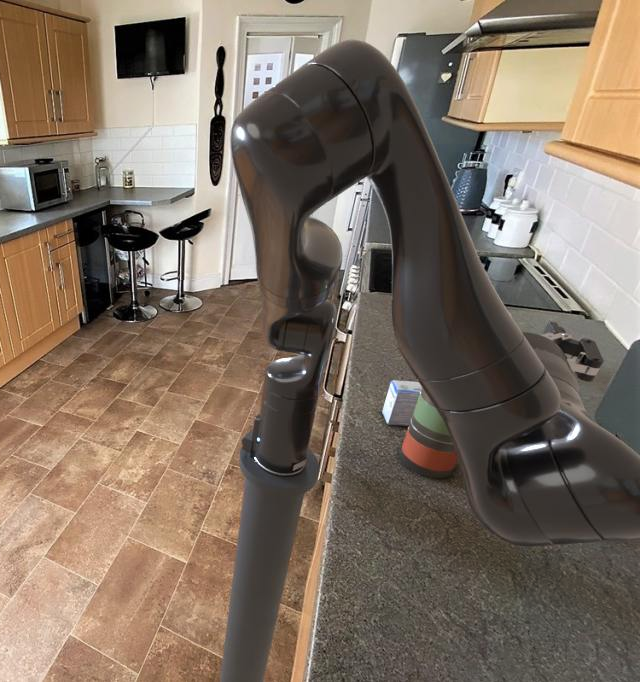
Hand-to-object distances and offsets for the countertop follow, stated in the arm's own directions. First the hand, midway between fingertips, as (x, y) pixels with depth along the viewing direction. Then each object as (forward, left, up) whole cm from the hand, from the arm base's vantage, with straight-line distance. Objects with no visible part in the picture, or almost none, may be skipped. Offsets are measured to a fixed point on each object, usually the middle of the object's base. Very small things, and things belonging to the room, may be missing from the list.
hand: (504, 321), depth 56 cm
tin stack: (-3, +12, -34) cm, 36 cm away
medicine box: (-9, +23, -35) cm, 42 cm away
